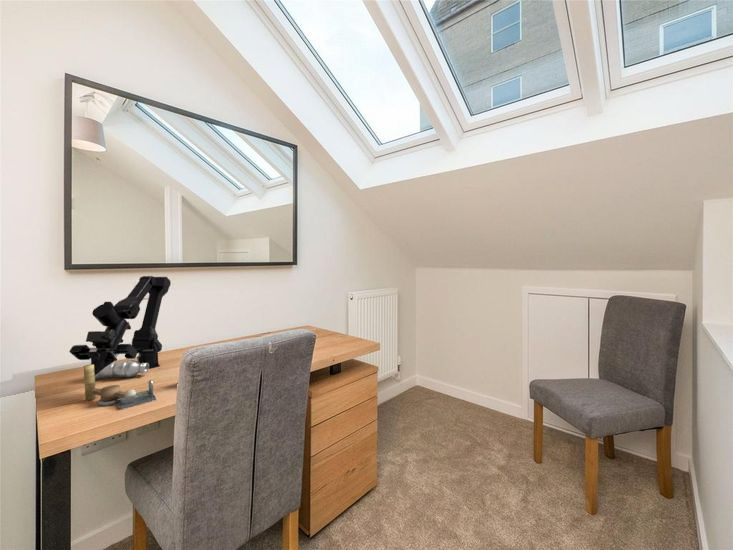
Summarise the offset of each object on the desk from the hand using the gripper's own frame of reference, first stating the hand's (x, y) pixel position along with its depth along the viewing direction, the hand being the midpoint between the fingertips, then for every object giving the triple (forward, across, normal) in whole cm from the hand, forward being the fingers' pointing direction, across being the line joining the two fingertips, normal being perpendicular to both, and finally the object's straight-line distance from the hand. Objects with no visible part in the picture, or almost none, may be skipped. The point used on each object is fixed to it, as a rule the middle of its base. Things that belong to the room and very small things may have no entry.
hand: (92, 375), depth 109 cm
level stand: (+8, +13, +3) cm, 15 cm away
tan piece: (+8, +8, +2) cm, 11 cm away
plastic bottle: (-10, -14, +16) cm, 23 cm away
